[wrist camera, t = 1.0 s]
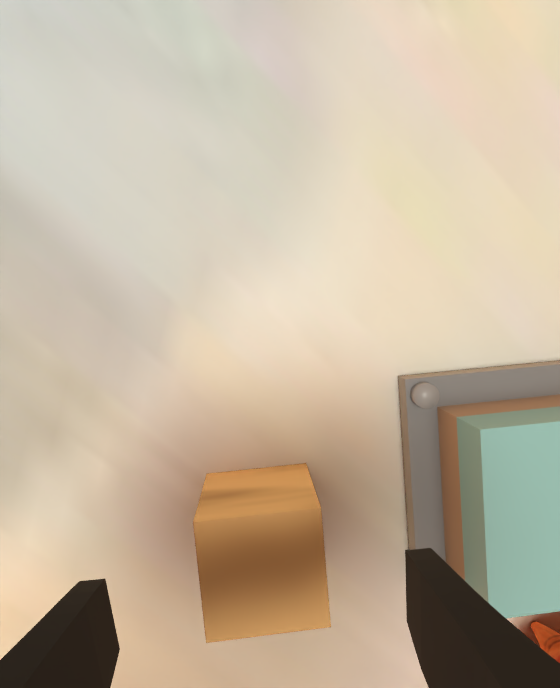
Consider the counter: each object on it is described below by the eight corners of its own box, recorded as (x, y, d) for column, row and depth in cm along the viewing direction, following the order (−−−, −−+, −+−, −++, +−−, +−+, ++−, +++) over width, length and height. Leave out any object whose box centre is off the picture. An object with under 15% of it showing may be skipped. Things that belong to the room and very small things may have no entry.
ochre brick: (313, 556, 22) (330, 626, 17) (216, 567, 22) (206, 642, 17) (305, 462, 22) (320, 507, 17) (207, 473, 22) (193, 522, 17)
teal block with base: (610, 558, 23) (707, 625, 18) (411, 582, 23) (455, 659, 18) (606, 355, 22) (707, 369, 17) (398, 376, 22) (440, 396, 17)
